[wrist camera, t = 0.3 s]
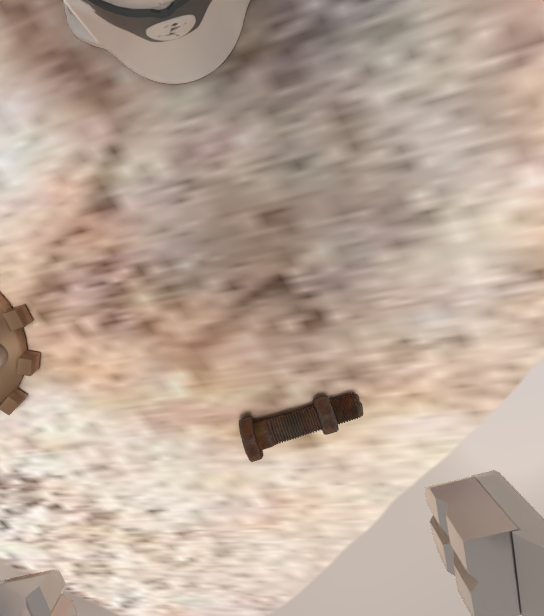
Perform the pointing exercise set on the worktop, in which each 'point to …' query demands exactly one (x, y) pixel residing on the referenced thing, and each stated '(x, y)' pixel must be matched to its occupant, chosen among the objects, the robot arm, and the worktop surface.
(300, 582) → the worktop surface
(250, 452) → the bolt
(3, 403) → the turntable
